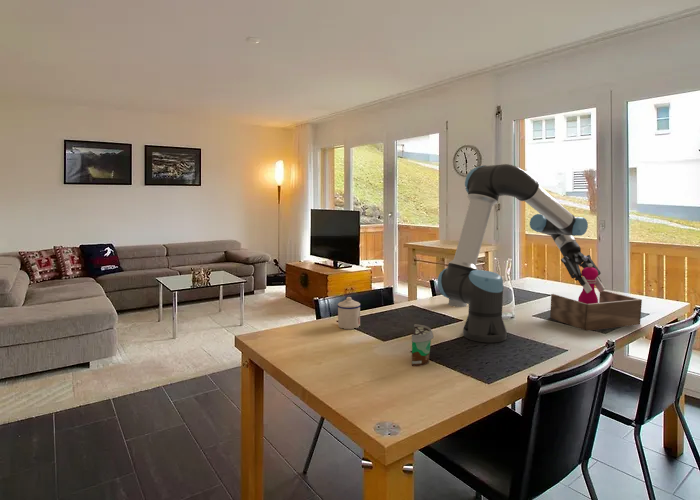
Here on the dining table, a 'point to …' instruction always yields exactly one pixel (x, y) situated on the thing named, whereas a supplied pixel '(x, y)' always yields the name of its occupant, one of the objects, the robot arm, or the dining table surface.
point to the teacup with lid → (349, 314)
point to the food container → (421, 345)
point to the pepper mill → (591, 277)
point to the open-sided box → (597, 311)
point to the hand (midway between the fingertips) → (595, 290)
